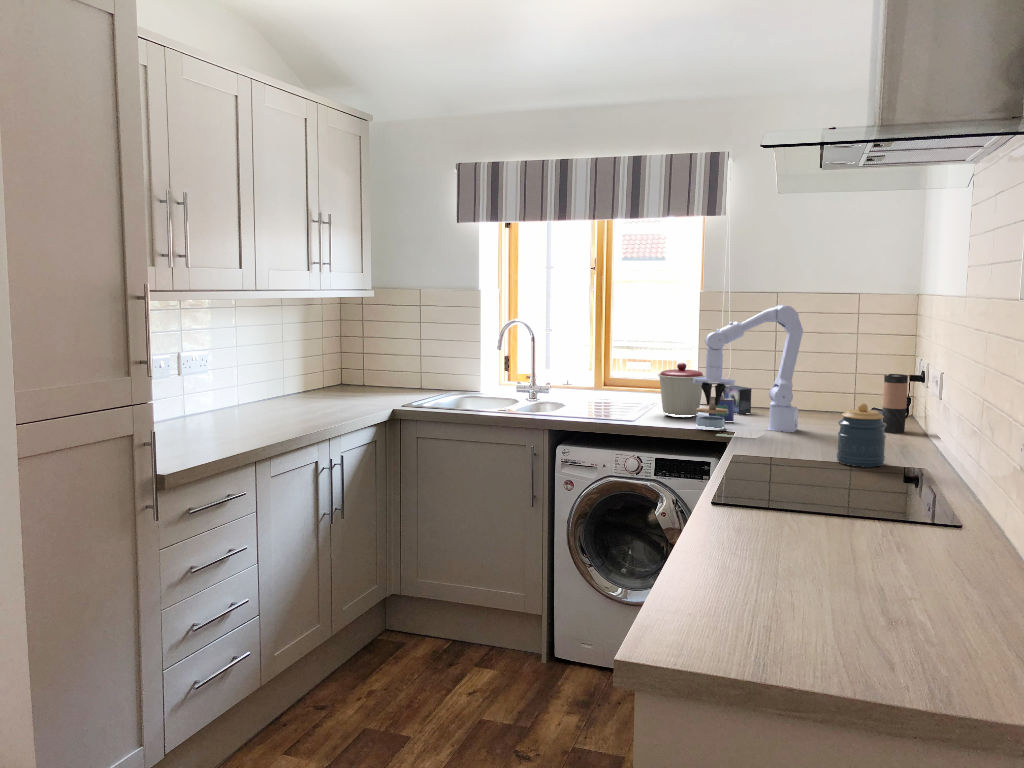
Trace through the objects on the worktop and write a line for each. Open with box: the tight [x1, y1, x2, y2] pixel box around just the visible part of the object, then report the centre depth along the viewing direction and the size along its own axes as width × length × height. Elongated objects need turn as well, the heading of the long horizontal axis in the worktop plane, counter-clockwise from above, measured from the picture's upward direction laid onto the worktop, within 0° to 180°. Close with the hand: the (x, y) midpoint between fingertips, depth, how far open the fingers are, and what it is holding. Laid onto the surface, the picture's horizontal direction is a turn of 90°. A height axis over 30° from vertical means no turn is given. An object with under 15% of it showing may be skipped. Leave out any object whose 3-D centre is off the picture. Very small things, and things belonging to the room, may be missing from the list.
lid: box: [697, 396, 728, 414], centre depth 306 cm, size 11×11×5 cm
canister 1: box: [657, 362, 706, 416], centre depth 336 cm, size 18×18×21 cm
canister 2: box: [836, 402, 887, 468], centre depth 250 cm, size 13×13×18 cm
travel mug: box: [881, 373, 909, 434], centre depth 301 cm, size 8×8×20 cm
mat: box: [715, 433, 734, 438], centre depth 297 cm, size 14×14×1 cm
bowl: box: [695, 415, 726, 428], centre depth 309 cm, size 10×10×4 cm
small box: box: [722, 385, 752, 414], centre depth 345 cm, size 11×6×10 cm, turn 25°
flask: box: [708, 393, 735, 421], centre depth 322 cm, size 9×3×11 cm, turn 87°
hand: (712, 404), depth 307 cm, fingers closed on lid, 2 cm apart
